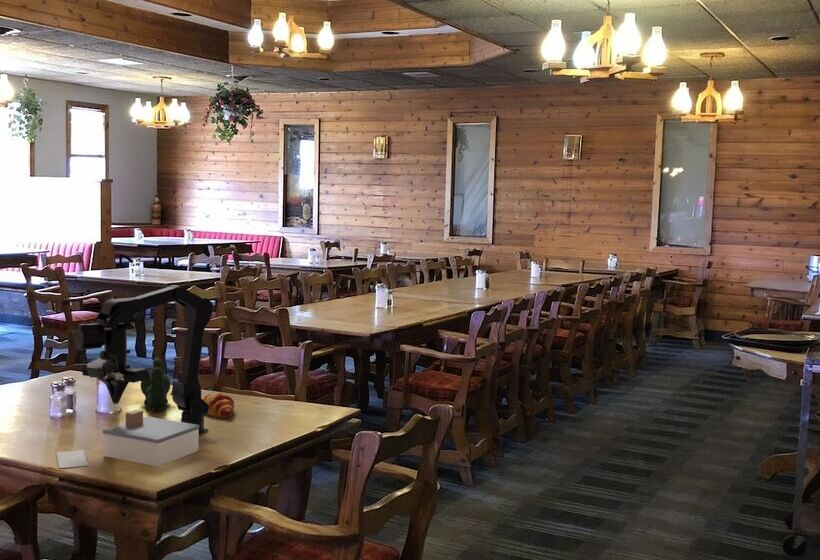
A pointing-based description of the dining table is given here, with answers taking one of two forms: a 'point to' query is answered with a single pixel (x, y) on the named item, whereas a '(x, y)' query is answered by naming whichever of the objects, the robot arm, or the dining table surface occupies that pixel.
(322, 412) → the dining table surface
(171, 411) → the dining table surface
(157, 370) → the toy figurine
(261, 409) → the dining table surface
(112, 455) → the lidded box
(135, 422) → the lid
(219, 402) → the croissant
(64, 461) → the smartphone
